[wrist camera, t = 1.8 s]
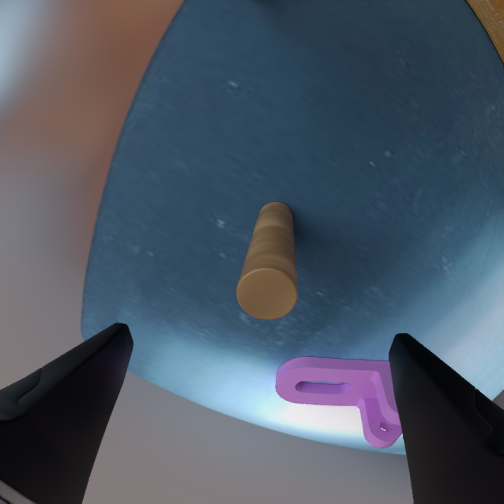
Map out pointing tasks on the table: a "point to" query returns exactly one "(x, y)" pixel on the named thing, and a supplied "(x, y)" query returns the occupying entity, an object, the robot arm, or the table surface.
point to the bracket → (345, 391)
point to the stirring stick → (270, 266)
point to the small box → (491, 20)
